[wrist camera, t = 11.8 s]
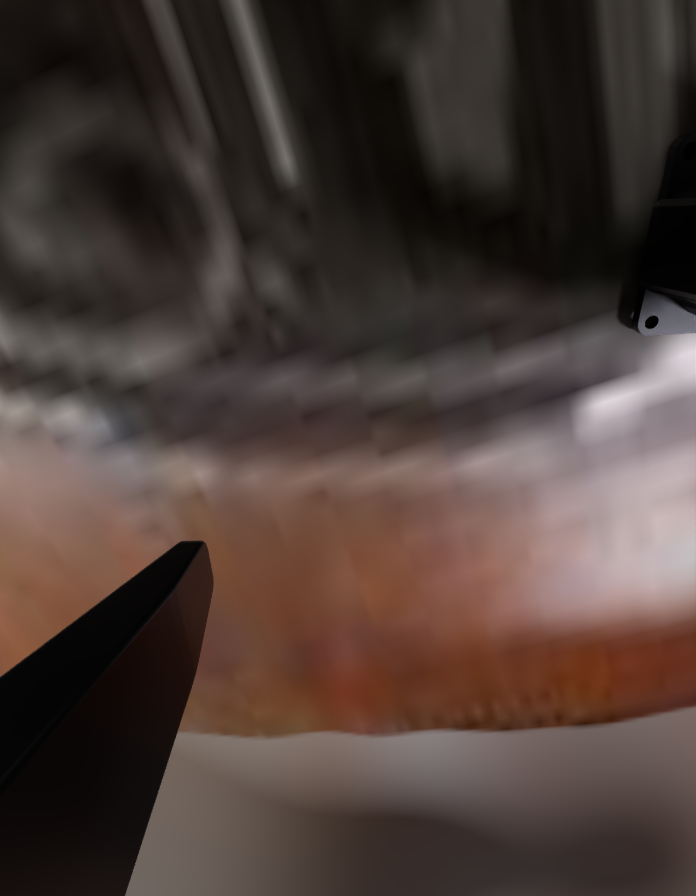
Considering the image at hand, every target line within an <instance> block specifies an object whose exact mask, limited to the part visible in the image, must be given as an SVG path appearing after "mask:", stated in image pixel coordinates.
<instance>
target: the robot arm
mask: <svg viewBox="0 0 696 896" xmlns="http://www.w3.org/2000/svg"><path fill="white" fill-rule="evenodd" d="M687 144H689V145H690V147H691V153H690V155H689V157H688V158H687V159H686V160H685V158H684V157H683V150H684V148H685V146H686V145H687ZM638 281H639V283H640V288H639V292H638V297H637V302H636V307H635V311H634V316H633V321H632V326H633V328H634V330H635V331H636V332H638V333H640V334H643V335H648V336H650V335H667V334H684V333H696V133H692V134H687V135H684V136H681V137H679V138H678V139H677V140H675V141H674V143H673V144H672V145H671V147H670V149H669V152H668V155H667V160H666V165H665V170H664V174H663V179H662V184H661V188H660V193H659V198H658V203H657V204H656V205H655V207H654V208H653V210H652V215H651V220H650V225H649V230H648V234H647V239H646V244H645V249H644V254H643V258H642V263H641V268H640V273H639V278H638ZM650 316H652V322H651V323H650V324H649V325H648V326H646V327H645V321H646V319H647V318H648V317H650ZM212 592H213V574H212V568H211V563H210V558H209V553H208V548H207V545H206V543H205V542H203V541H181V542H179V543H178V544H176V545H175V546H174V547H172V548H171V549H170V550H168V551H167V552H166V553H164V554H163V555H162V556H160V557H159V558H158V559H156V560H155V561H154V562H152V563H151V564H150V565H148V566H147V567H146V568H144V569H143V570H142V571H140V572H139V573H138V574H136V575H135V576H134V577H132V578H131V579H130V580H128V581H127V582H126V583H124V584H123V585H122V586H120V587H119V588H118V589H116V590H115V591H114V592H112V593H111V594H110V595H108V596H107V597H106V598H104V599H103V600H102V601H100V602H99V603H98V604H97V605H95V606H94V607H93V608H91V609H90V610H89V611H87V612H86V613H85V614H83V615H82V616H81V617H79V618H78V619H77V620H75V621H74V622H73V623H71V624H70V625H69V626H67V627H66V628H65V629H63V630H62V631H61V632H59V633H58V634H57V635H55V636H54V637H53V638H51V639H50V640H49V641H47V642H46V643H45V644H43V645H42V646H41V647H39V648H38V649H37V650H35V651H34V652H33V653H31V654H30V655H29V656H27V657H26V658H25V659H23V660H22V661H21V662H19V663H18V664H17V665H15V666H14V667H13V668H11V669H10V670H9V671H7V672H6V673H5V674H3V675H2V676H1V677H0V896H125V894H126V891H127V888H128V885H129V882H130V879H131V875H132V872H133V869H134V866H135V863H136V860H137V857H138V854H139V851H140V847H141V844H142V841H143V838H144V835H145V832H146V829H147V826H148V822H149V819H150V816H151V813H152V810H153V807H154V804H155V801H156V797H157V794H158V791H159V788H160V785H161V782H162V779H163V776H164V773H165V769H166V766H167V763H168V760H169V757H170V753H171V751H172V747H173V745H174V741H175V738H176V735H177V732H178V729H179V726H180V723H181V720H182V716H183V713H184V710H185V707H186V704H187V701H188V698H189V695H190V692H191V688H192V685H193V682H194V678H195V675H196V671H197V666H198V662H199V657H200V652H201V647H202V642H203V637H204V632H205V627H206V622H207V617H208V612H209V607H210V602H211V597H212Z"/></svg>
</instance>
